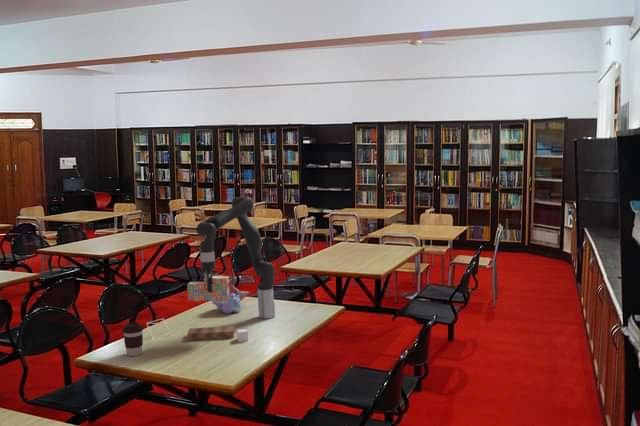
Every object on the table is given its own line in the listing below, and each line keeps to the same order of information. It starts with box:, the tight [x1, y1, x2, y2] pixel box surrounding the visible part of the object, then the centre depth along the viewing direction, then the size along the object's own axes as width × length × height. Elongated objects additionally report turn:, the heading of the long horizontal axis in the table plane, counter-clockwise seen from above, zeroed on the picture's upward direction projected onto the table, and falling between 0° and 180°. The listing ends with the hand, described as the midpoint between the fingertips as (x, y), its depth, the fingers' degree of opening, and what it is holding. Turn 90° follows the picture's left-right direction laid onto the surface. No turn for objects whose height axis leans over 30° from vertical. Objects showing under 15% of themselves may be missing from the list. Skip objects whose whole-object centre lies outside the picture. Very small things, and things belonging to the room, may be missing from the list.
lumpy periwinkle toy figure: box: [211, 283, 251, 315], centre depth 360 cm, size 20×22×18 cm
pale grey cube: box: [236, 328, 249, 343], centre depth 302 cm, size 5×5×5 cm
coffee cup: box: [121, 322, 144, 357], centre depth 284 cm, size 10×10×15 cm
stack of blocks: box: [186, 275, 230, 302], centre depth 307 cm, size 21×6×12 cm, turn 87°
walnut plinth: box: [186, 325, 235, 342], centre depth 309 cm, size 24×10×4 cm, turn 96°
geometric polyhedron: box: [146, 318, 172, 342], centre depth 309 cm, size 12×11×9 cm
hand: (209, 290), depth 307 cm, fingers closed on stack of blocks, 7 cm apart
